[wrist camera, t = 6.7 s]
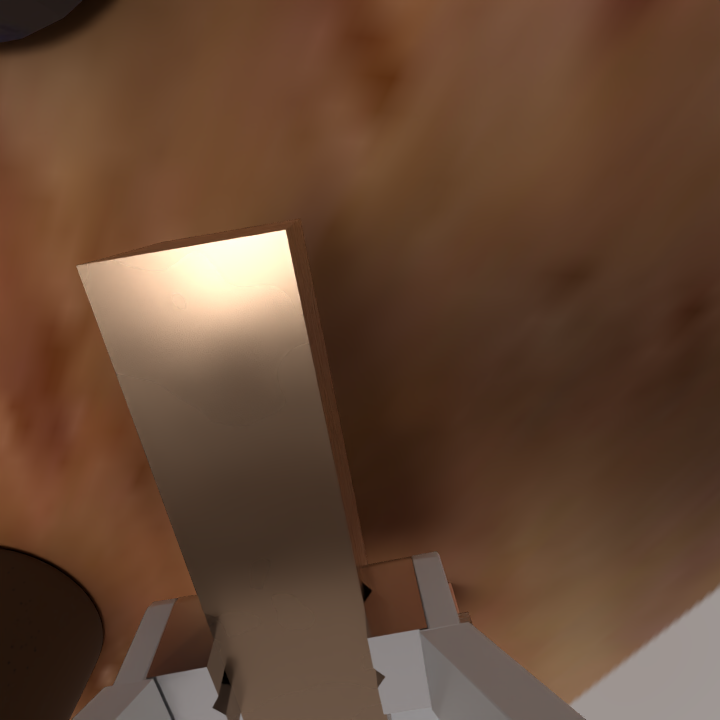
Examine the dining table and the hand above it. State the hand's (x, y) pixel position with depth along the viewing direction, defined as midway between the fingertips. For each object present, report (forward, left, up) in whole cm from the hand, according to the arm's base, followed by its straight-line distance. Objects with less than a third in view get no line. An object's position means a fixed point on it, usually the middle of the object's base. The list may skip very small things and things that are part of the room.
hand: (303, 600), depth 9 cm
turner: (0, +1, -2) cm, 2 cm away
